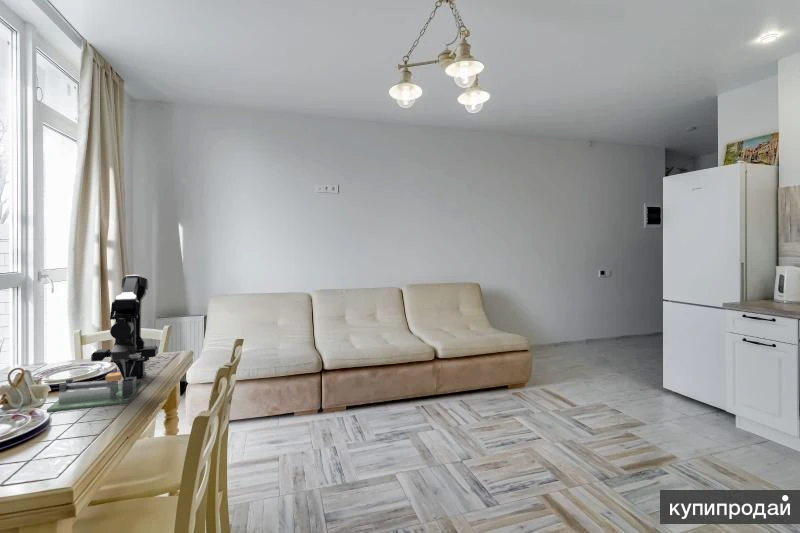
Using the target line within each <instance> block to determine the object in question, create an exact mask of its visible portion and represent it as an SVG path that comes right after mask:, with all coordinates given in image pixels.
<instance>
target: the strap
mask: <svg viewBox="0 0 800 533" xmlns="http://www.w3.org/2000/svg"><path fill="white" fill-rule="evenodd" d="M116 383H117V381H108V382H106V379H105V380H96V381H93V380H92V381H81V382H80V381H79V382H73V383H67V388H76V387H89V386H103V385H115V384H116Z"/></svg>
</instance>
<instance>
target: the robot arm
mask: <svg viewBox="0 0 800 533" xmlns="http://www.w3.org/2000/svg"><path fill="white" fill-rule="evenodd" d="M148 280H149V279H148V278H145V277H142V276H141V275H140V274H127V275H124V277H123V278H122V279H121V294H117V295H116V296H115V299H114V300H113V301H112V303H111V306H110V307H111V308H110V315H109V316H110V317H109V320H111V321H112V320H115V322H114V324H113V325H112V326H111V327H110V330H109V333H110V336H111V337H112V338H114V340H115V341H114V345H113V346H112V349H111V350H110V348H101V349H97V350H95V351H94V352H93V353H91V355H90V361H91V362H102V361H103V360H104V359H105V358H110V361H109V362H110V363H114V364H115V365H116V366H117V368H118V370H119V372H121V374H122V376H123V377H122V380H124V379H125V378H126V377H127V378H129V377H134V376H136V379H142V378H143V377H144V376H146V375H147V374H146V373H147V372H146V369H145V367H146V363H147V361H150V358H155V357H156V356H157V355H158V354H159V347H158V346H157V345H151V346H149V345H148V346H146V341H145V340H144V339H143V338H142V335H141V333H142V302H143V301H142V300H143V299H144V298H145V296H146V295H147V290H149V281H148ZM145 362H146V363H145Z"/></svg>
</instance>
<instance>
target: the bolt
mask: <svg viewBox="0 0 800 533" xmlns="http://www.w3.org/2000/svg"><path fill="white" fill-rule="evenodd" d="M104 379H105V380H106V382H108V381H118V382H119V381H121V380H122V379H123V376H122V374H121V372H120V371H118V372H109V373H108V374H106V375H105V378H104Z"/></svg>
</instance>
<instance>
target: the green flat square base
mask: <svg viewBox="0 0 800 533" xmlns="http://www.w3.org/2000/svg"><path fill="white" fill-rule="evenodd" d="M67 383H74V378H67V379H65V382H64V383H60V384H58V386H59V387H58V390H59V391H58V399H57V401H55V402H54V403H53V404H51V405H50V406H49V407H47V409H46V412H48V413H49V412H58V411H68V410H76V409H79V410H80V409H85V408H86V409H87V408H96V407H105V406H106V407H107V406H114V405H124V404H127V403H129V402H130V400H131V398H132V397H133V396H134V395H135V393H136V392H137V391H138V389H139V388H140V387H141V386H142V382H139V381H138V382H137V378H136V376H134V377H129V378H127V377H126V378H125V379H122V382H121V383H119V381H117V383H116V384H115V385H103V386H89V387H76V388H67Z"/></svg>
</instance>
